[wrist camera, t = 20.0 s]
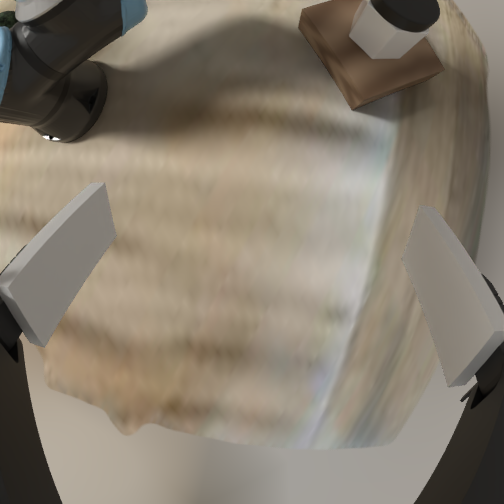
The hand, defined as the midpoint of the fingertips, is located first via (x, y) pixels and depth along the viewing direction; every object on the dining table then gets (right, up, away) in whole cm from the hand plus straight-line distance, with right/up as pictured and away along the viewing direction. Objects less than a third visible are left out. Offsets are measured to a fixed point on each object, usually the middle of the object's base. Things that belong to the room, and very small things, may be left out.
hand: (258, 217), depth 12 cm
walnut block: (+18, +30, +26) cm, 43 cm away
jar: (+17, +29, +20) cm, 39 cm away
